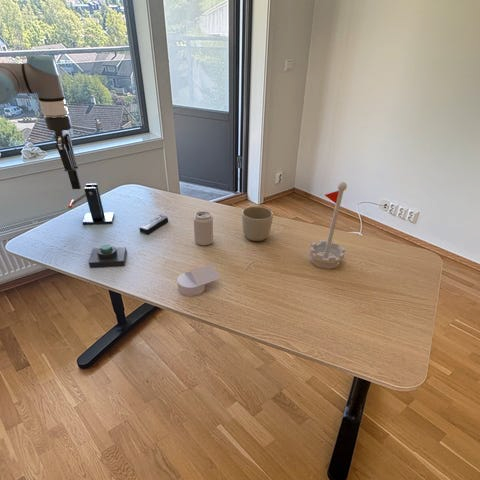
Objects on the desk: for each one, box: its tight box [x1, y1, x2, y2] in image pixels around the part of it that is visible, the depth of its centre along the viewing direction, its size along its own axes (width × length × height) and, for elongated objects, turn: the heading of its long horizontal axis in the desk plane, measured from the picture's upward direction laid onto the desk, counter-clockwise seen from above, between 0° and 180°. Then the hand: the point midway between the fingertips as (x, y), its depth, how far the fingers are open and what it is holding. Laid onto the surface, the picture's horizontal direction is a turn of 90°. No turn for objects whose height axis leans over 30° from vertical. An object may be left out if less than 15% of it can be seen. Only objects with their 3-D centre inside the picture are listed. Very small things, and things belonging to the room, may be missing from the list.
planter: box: [241, 205, 274, 242], centre depth 141 cm, size 12×12×11 cm
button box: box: [88, 245, 128, 269], centre depth 126 cm, size 12×10×4 cm
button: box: [100, 244, 112, 253], centre depth 125 cm, size 4×4×2 cm
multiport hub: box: [138, 214, 169, 236], centre depth 148 cm, size 4×14×2 cm, turn 153°
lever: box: [68, 185, 97, 210], centre depth 144 cm, size 13×6×2 cm, turn 99°
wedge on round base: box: [176, 263, 221, 297], centre depth 115 cm, size 9×7×13 cm
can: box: [192, 210, 214, 247], centre depth 136 cm, size 8×8×12 cm
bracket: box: [82, 183, 115, 226], centre depth 147 cm, size 12×9×15 cm
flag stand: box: [308, 181, 348, 270], centre depth 123 cm, size 13×13×30 cm
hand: (76, 188), depth 127 cm, fingers closed
